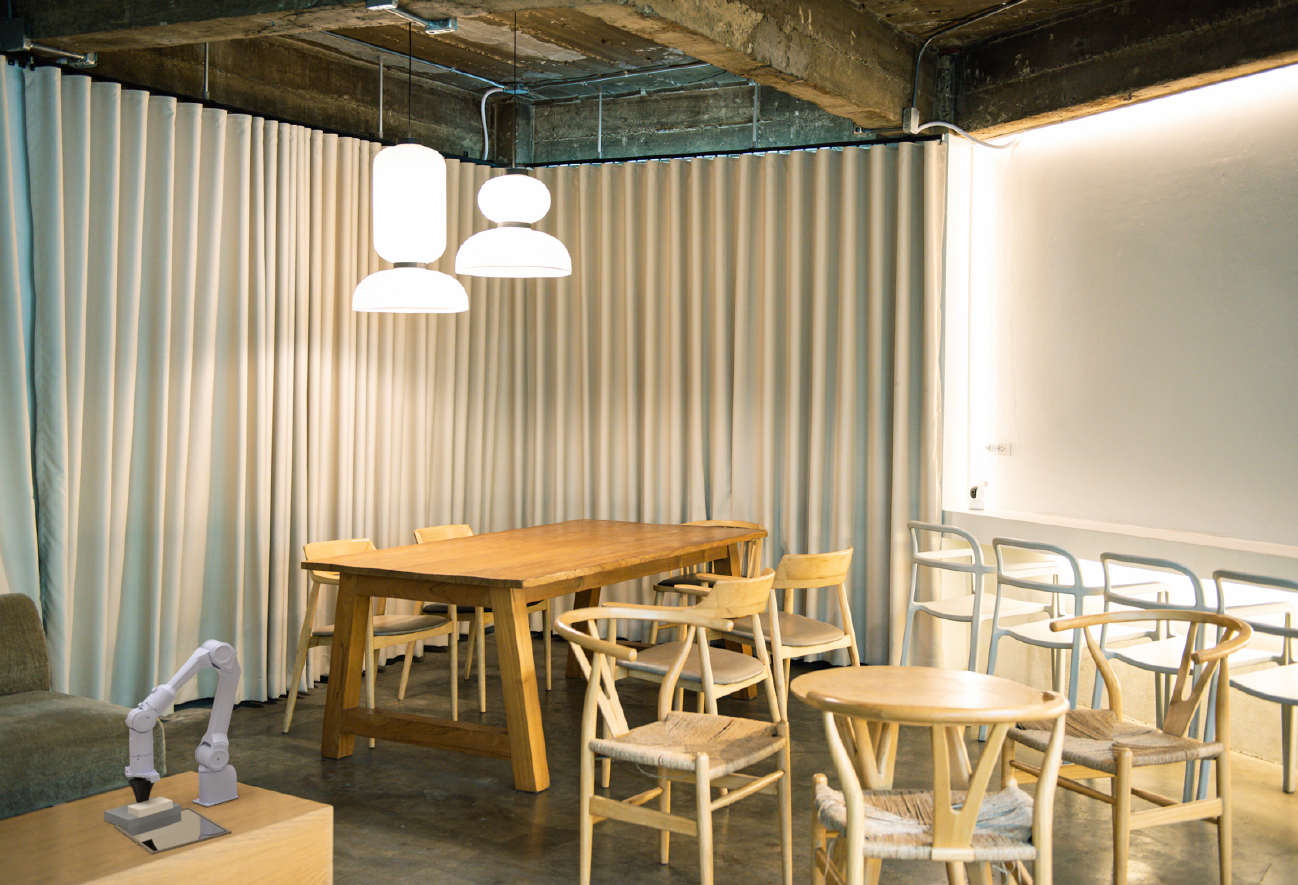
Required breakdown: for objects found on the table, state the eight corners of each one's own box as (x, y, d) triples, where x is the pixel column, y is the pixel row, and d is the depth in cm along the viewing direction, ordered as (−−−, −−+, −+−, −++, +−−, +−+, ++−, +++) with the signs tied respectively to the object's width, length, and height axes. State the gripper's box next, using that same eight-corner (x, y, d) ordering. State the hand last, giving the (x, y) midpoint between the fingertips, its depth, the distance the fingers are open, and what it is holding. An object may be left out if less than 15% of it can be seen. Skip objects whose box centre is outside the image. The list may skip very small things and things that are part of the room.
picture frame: (114, 829, 275) (152, 856, 254) (114, 825, 275) (152, 852, 254) (189, 810, 288) (231, 835, 268) (189, 806, 288) (231, 831, 268)
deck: (155, 805, 291) (155, 796, 291) (181, 814, 284) (180, 804, 284) (104, 820, 280) (104, 811, 280) (129, 829, 272) (128, 820, 272)
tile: (161, 804, 285) (160, 796, 285) (172, 808, 281) (172, 800, 281) (127, 813, 278) (127, 805, 278) (139, 817, 274) (139, 809, 274)
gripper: (113, 753, 283) (114, 804, 283) (140, 761, 275) (141, 814, 274) (139, 747, 289) (140, 797, 289) (166, 754, 280) (168, 806, 280)
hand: (142, 805), depth 282 cm, fingers closed
